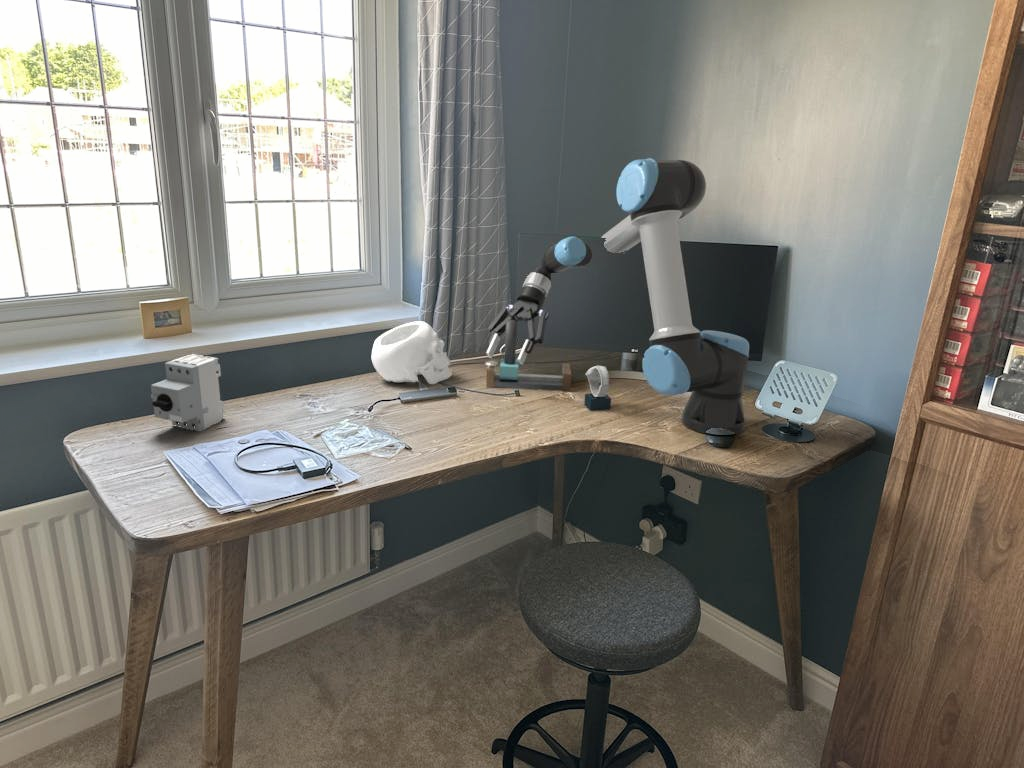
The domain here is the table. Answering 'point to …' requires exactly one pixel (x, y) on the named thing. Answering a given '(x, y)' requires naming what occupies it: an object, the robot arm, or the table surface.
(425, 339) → the skull planter
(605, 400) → the watch
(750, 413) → the table surface
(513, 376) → the dark rod stand
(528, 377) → the rail
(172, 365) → the circuit breaker
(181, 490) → the table surface
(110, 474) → the table surface
